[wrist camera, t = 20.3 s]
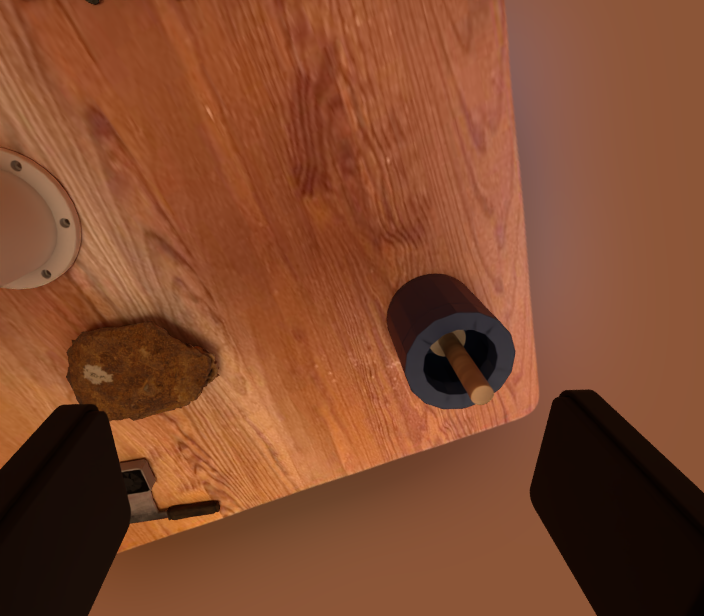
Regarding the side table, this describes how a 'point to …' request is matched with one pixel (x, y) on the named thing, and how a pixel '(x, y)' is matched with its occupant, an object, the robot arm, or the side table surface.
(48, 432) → the robot arm
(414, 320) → the dark hollow tube
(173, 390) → the decorative rock
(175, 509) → the cleaver
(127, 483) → the graphics card
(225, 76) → the side table surface
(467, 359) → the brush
